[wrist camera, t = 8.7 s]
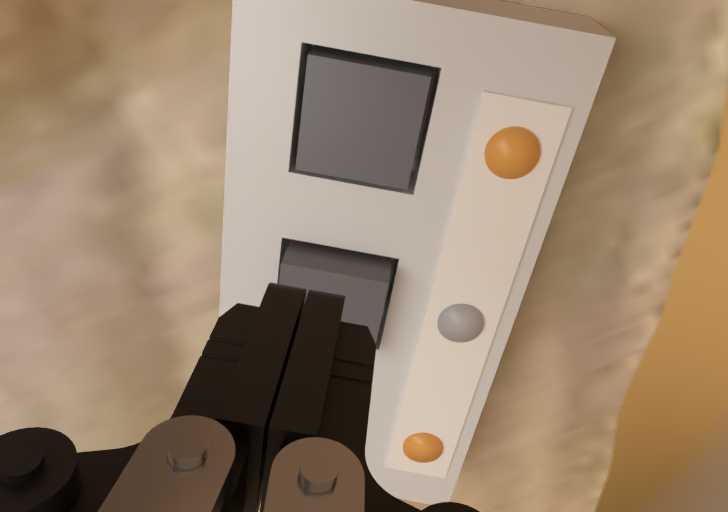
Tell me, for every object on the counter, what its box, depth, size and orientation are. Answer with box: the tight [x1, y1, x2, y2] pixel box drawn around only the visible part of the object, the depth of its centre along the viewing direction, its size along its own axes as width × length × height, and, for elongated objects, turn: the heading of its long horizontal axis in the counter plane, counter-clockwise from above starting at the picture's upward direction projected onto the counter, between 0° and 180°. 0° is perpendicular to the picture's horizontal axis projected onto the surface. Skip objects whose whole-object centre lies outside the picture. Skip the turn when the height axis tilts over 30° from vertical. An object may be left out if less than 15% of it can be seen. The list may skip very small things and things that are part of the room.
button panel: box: [219, 0, 616, 505], centre depth 29 cm, size 25×13×4 cm, turn 171°
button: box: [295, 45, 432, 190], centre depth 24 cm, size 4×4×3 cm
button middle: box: [279, 239, 391, 343], centre depth 27 cm, size 4×4×3 cm
